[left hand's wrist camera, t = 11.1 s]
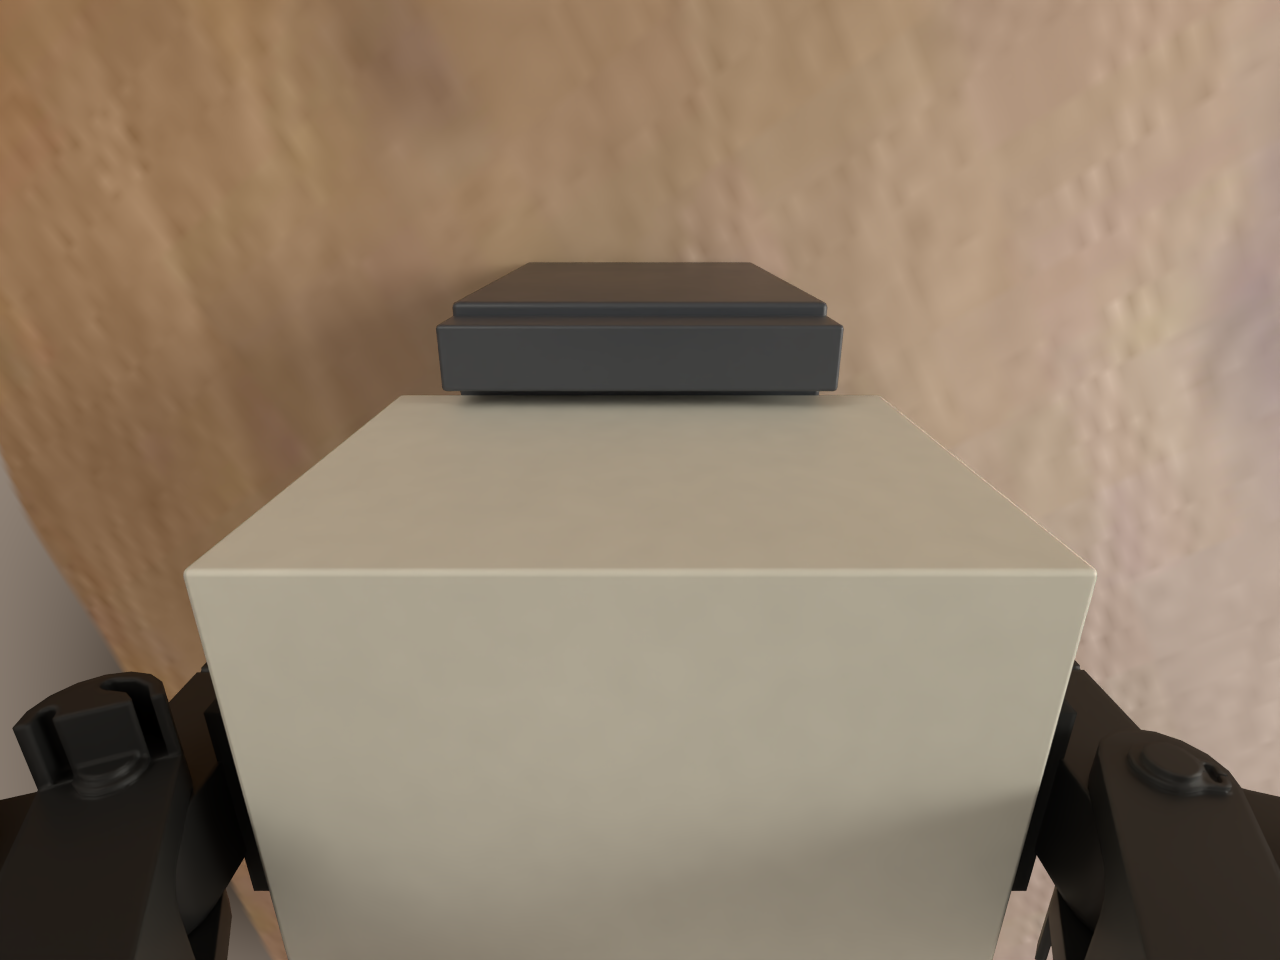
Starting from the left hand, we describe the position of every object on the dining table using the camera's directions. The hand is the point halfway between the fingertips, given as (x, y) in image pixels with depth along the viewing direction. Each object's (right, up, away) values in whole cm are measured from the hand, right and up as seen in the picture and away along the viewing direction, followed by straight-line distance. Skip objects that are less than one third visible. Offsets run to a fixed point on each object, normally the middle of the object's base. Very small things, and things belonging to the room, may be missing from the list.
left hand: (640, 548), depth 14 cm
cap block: (0, 0, -1) cm, 1 cm away
